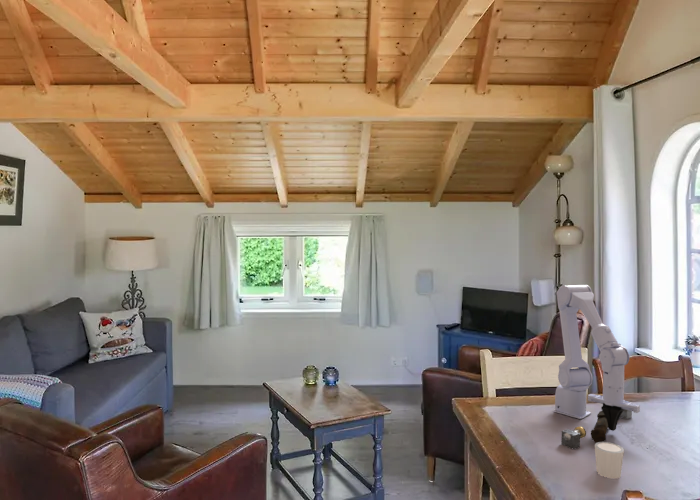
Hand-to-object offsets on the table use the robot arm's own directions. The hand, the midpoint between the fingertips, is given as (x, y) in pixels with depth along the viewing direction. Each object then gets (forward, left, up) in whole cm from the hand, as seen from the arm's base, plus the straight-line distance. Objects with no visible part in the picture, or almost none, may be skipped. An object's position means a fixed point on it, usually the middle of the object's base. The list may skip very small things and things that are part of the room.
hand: (612, 429), depth 159 cm
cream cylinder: (+9, -27, -2) cm, 29 cm away
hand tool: (-2, -2, -2) cm, 3 cm away
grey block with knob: (-4, +17, -1) cm, 17 cm away
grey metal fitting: (-5, -16, -1) cm, 17 cm away
